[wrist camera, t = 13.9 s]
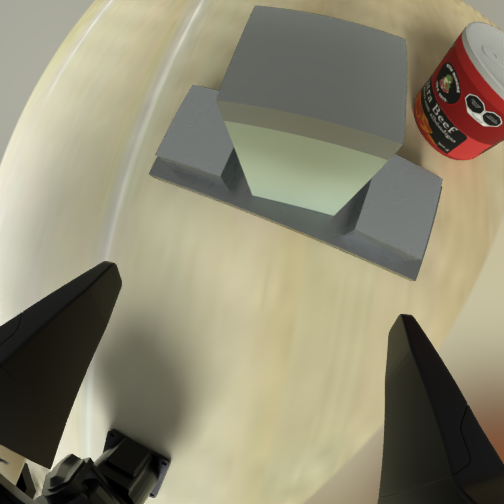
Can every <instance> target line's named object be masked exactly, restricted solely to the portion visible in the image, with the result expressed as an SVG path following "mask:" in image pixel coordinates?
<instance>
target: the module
mask: <svg viewBox="0 0 504 504" xmlns="http://www.w3.org/2000/svg"><path fill="white" fill-rule="evenodd" d="M406 94H407V50H406V39H403V38H400V37H398V36H395V35H392V34H389V33H386V32H383V31H380V30H377V29H374V28H370V27H367V26H364V25H360V24H356V23H353V22H349V21H345V20H341V19H337V18H332V17H328V16H323V15H318V14H313V13H308V12H302V11H296V10H290V9H282V8H275V7H266V6H255V7H254V9H253V11H252V13H251V15H250V18H249V20H248V22H247V24H246V26H245V29H244V31H243V33H242V36H241V38H240V40H239V43H238V45H237V47H236V50H235V52H234V55H233V57H232V60H231V62H230V64H229V67H228V69H227V72H226V75H225V77H224V80H223V82H222V85H221V87H220V90H219V93H218V95H217V98H216V102H217V104H218V107H219V109H220V112H221V114H222V117H223V120H224V122H225V125H226V127H227V130H228V132H229V135H230V138H231V140H232V143H233V145H234V148H235V151H236V153H237V156H238V158H239V161H240V164H241V166H242V169H243V172H244V174H245V177H246V180H247V182H248V185H249V188H250V190H251V193H252V195H253V196H257V197H262V198H266V199H270V200H274V201H278V202H283V203H287V204H291V205H295V206H299V207H303V208H306V209H310V210H314V211H318V212H322V213H326V214H329V215H333V216H334V215H335V214H336V213H337V212H338V211H339V210H340V209H341V208H342V207H343V206H344V205H345V204H346V203H347V202H348V201H349V200H350V199H351V198H352V197H353V196H354V195H355V194H356V193H357V192H358V191H359V190H360V189H361V188H362V187H363V186H364V185H365V184H366V183H367V182H368V181H369V180H370V179H371V178H372V177H373V176H374V175H375V174H376V173H377V172H378V171H379V170H380V169H381V168H382V167H383V166H384V164H385V163H386V162H387V161H388V160H389V159H390V158H391V157H392V156H393V155H394V154H395V153H396V152H397V151H398V150H399V149H400V148H401V147H402V146H403V145H404V132H405V117H406Z"/></svg>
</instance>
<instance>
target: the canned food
mask: <svg viewBox="0 0 504 504" xmlns="http://www.w3.org/2000/svg"><path fill="white" fill-rule="evenodd" d="M414 114H415V119H416V122H417V125H418V127H419V129H420V131H421V133H422V135H423V136H424V138H425V139H426V140H427V141H428V142H429V144H430V145H431V146H432V147H433V148H435V149H436V150H437V151H438V152H440V153H441V154H443V155H445V156H447V157H449V158H451V159H455V160H469V159H473V158H475V157H477V156H479V155H480V154H482V153H484V152H485V151H487V150H489V149H490V148H492V147H494V146H495V145H497V144H498V143H500V142H502V141H503V140H504V33H503V32H501V31H500V30H498V29H497V28H495V27H493V26H491V25H488V24H486V23H482V22H472V23H470V24H468V26H467V27H465V29H464V30H463V31H462V33H461V34H460V35H459V37H458V38H457V40H456V41H455V42H454V44H453V45H452V47H451V48H450V50H449V51H448V53H447V54H446V55H445V57H444V58H443V60H442V61H441V63H440V64H439V65H438V67H437V68H436V70H435V71H434V73H433V74H432V75H431V77H430V78H429V80H428V81H427V82H426V84H425V85H424V87H423V88H422V89H421V91H420V92H419V93H418V95H417V98H416V101H415V108H414Z"/></svg>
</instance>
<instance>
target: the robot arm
mask: <svg viewBox="0 0 504 504" xmlns="http://www.w3.org/2000/svg"><path fill="white" fill-rule="evenodd" d="M121 287H122V280H121V277H120V274H119V271H118V268H117V265H116V264H115V263H112V262H108V261H104V262H102V263H100V264H99V265H97V266H95V267H94V268H92V269H90V270H88V271H87V272H85V273H83V274H82V275H80V276H78V277H77V278H75V279H74V280H72V281H70V282H69V283H67V284H65V285H64V286H62V287H61V288H59V289H57V290H56V291H54V292H53V293H51V294H49V295H48V296H46V297H45V298H43V299H42V300H40V301H38V302H37V303H35V304H34V305H32V306H31V307H29V308H28V309H26V310H25V311H23V312H22V313H20V314H19V315H17V316H16V317H14V318H13V319H11V320H10V321H8V322H6V323H5V324H3V325H2V326H0V504H144V502H145V501H146V499H147V498H148V496H149V497H152V498H155V497H156V496H157V494H158V492H159V489H160V487H161V485H162V482H163V480H164V478H165V475H166V473H167V471H168V468H169V466H170V463H171V462H170V460H169V459H167V458H166V457H164V456H162V455H160V454H158V453H156V452H154V451H152V450H150V449H148V448H146V447H144V446H142V445H140V444H139V443H137V442H135V441H133V440H131V439H130V438H128V437H126V436H124V435H123V434H121V433H119V432H118V431H116V430H114V429H110V430H109V431H108V433H107V438H106V442H105V446H104V451H103V454H102V455H101V456H100V457H99V458H98V459H97V460H96V461H95V462H93V461H92V459H91V458H90V457H89V458H86V459H82V460H81V458H78V457H77V456H75V455H73V454H70V455H67V456H66V457H65V458H64V459H62V460H61V461H60V462H59V463H58V464H57V465H56V466H55V467H54V468H53V470H52V471H51V472H49V473H48V474H47V475H46V477H45V481H44V485H43V490H42V495H41V496H39V497H38V498H36V500H35V501H34V500H33V497H34V495H35V492H36V490H35V487H34V484H33V481H32V478H31V475H30V472H29V468H28V465H27V463H25V461H26V459H29V460H31V461H33V462H35V463H37V464H39V465H41V466H43V467H46V468H48V469H51V467H52V464H53V461H54V458H55V455H56V452H57V448H58V445H59V442H60V440H61V437H62V434H63V431H64V428H65V425H66V422H67V419H68V417H69V414H70V411H71V409H72V406H73V403H74V401H75V398H76V396H77V393H78V391H79V388H80V386H81V383H82V381H83V379H84V376H85V374H86V371H87V369H88V367H89V364H90V362H91V360H92V358H93V355H94V353H95V351H96V349H97V346H98V344H99V342H100V340H101V338H102V336H103V333H104V331H105V329H106V327H107V324H108V322H109V319H110V317H111V314H112V311H113V308H114V306H115V303H116V300H117V298H118V295H119V292H120V290H121ZM112 433H113V434H114V435H113V434H112ZM164 462H166V463H164ZM378 504H504V464H503V462H502V460H501V459H500V457H499V456H498V454H497V452H496V451H495V449H494V447H493V446H492V444H491V443H490V441H489V440H488V438H487V436H486V435H485V433H484V431H483V430H482V428H481V426H480V425H479V423H478V421H477V419H476V417H475V416H474V414H473V412H472V410H471V409H470V407H469V405H467V401H466V400H465V398H464V396H463V394H462V393H461V391H460V389H459V387H458V386H457V384H456V382H455V381H454V379H453V377H452V376H451V374H450V372H449V371H448V369H447V367H446V366H445V364H444V362H443V361H442V359H441V358H440V356H439V354H438V353H437V351H436V350H435V348H434V347H433V345H432V343H431V342H430V340H429V339H428V337H427V336H426V334H425V333H424V331H423V330H422V328H421V327H420V325H419V324H418V322H417V321H416V319H415V318H414V317H413V316H412V315H407V314H400V315H399V316H398V318H397V319H396V321H395V323H394V324H393V326H392V328H391V329H390V332H389V336H388V350H387V363H386V375H385V422H384V444H383V459H382V471H381V481H380V489H379V499H378Z"/></svg>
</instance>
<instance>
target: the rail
mask: <svg viewBox="0 0 504 504" xmlns="http://www.w3.org/2000/svg"><path fill="white" fill-rule="evenodd" d="M218 93H219V91H218V90H214V89H209V88H205V87H200V86H196V85H192V87H191V89H190V90H189V92H188V94H187V96H186V97H185V99H184V101H183V103H182V104H181V106H180V108H179V110H178V112H177V113H176V115H175V117H174V119H173V121H172V123H171V125H170V127H169V129H168V130H167V132H166V134H165V136H164V138H163V140H162V142H161V144H160V146H159V148H158V150H157V152H156V154H155V155H156V156H157V158H156V160H155V162H154V165H153V167H152V169H151V171H150V173H149V174H150V175H151V176H152V177H154V178H156V179H159V180H162V181H165V182H167V183H170V184H173V185H176V186H178V187H181V188H184V189H187V190H189V191H192V192H195V193H197V194H200V195H203V196H206V197H208V198H211V199H213V200H216V201H219V202H221V203H224V204H227V205H229V206H232V207H235V208H237V209H240V210H242V211H245V212H247V213H250V214H253V215H255V216H258V217H260V218H263V219H265V220H268V221H270V222H273V223H275V224H278V225H280V226H283V227H285V228H288V229H290V230H293V231H295V232H298V233H300V234H303V235H305V236H308V237H310V238H312V239H315V240H317V241H320V242H322V243H324V244H327V245H329V246H332V247H334V248H336V249H339V250H341V251H344V252H346V253H348V254H351V255H353V256H355V257H358V258H360V259H362V260H365V261H367V262H369V263H372V264H374V265H376V266H378V267H381V268H383V269H385V270H388V271H390V272H392V273H394V274H397V275H399V276H401V277H403V278H406V279H408V280H410V281H416V278H417V276H418V273H419V270H420V267H421V264H422V260H423V257H424V254H425V251H426V248H427V244H428V241H429V237H430V234H431V230H432V227H433V223H434V219H435V215H436V211H437V207H438V203H439V199H440V194H441V190H442V186H441V184H442V178H440V177H438V176H436V175H435V174H433V173H431V172H429V171H427V170H425V169H424V168H422V167H420V166H418V165H416V164H414V163H412V162H410V161H408V160H406V159H404V158H402V157H400V156H398V155H396V154H394V155H393V156H392V157H391V158H390V159H389V160H388V161H387V162H386V163H385V164H384V166H383V167H382V168H381V169H380V170H379V171H378V172H377V173H376V174H375V175H374V176H373V177H372V178H371V179H370V180H369V181H368V182H367V183H366V184H365V185H364V186H363V187H362V188H361V189H360V190H359V191H358V192H357V193H356V194H355V195H354V196H353V197H352V198H351V199H350V200H349V201H348V202H347V203H346V204H345V205H344V206H343V207H342V208H341V209H340V210H339V211H338V212H337V213H336V214H335V215H334V216H333V215H329V214H326V213H322V212H318V211H314V210H310V209H306V208H303V207H299V206H295V205H291V204H287V203H283V202H278V201H274V200H270V199H266V198H262V197H257V196H253V195H252V193H251V190H250V188H249V185H248V182H247V180H246V177H245V174H244V172H243V169H242V166H241V164H240V161H239V158H238V156H237V153H236V151H235V148H234V145H233V143H232V140H231V138H230V135H229V132H228V130H227V127H226V125H225V122H224V120H223V117H222V114H221V112H220V109H219V107H218V104H217V102H216V98H217V95H218Z"/></svg>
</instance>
